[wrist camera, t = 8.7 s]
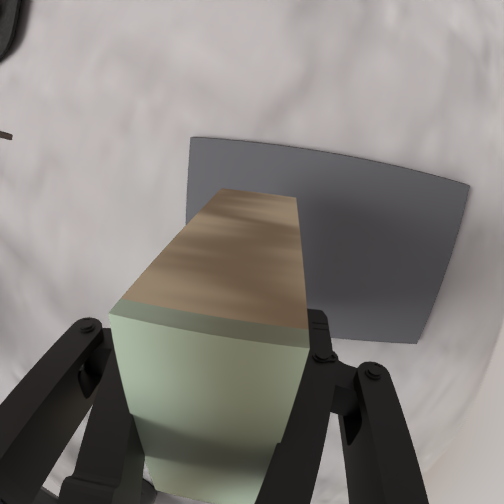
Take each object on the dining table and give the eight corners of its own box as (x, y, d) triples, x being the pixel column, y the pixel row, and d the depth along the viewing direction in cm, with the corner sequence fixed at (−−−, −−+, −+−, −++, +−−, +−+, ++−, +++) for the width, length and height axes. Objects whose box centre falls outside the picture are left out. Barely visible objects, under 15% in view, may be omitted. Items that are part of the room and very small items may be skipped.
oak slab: (212, 325, 20) (155, 489, 9) (221, 188, 17) (108, 313, 6) (273, 334, 20) (255, 509, 9) (296, 197, 17) (309, 347, 6)
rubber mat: (186, 313, 26) (184, 317, 25) (193, 136, 20) (190, 137, 20) (414, 339, 25) (416, 343, 24) (465, 184, 19) (469, 185, 19)
